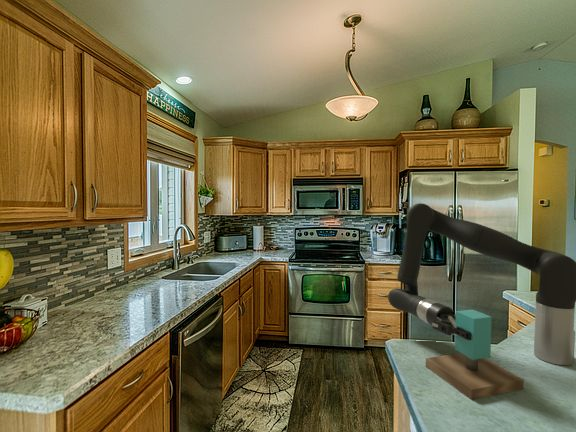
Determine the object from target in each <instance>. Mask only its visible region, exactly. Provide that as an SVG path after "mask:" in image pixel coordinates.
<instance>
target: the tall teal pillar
mask: <svg viewBox="0 0 576 432" xmlns="http://www.w3.org/2000/svg"><path fill="white" fill-rule="evenodd" d="M455 314H456V323H455V325H457V326H458V328H459V327H461V328H463V329H465V330H467V331H469V332H471V334H472V336H471V340H466V339H464V338H462V337H460V336H456V335H454V350H455V351H456V352H457V353H462V354H463V355H465V356H467V357H469V358H470V359H472V360H475V359H481V358H485V359H487V358H490V357H491V354H492V353H491V348H492V323H493V322H492V316H490V315H488V314H485V313H482V312H480V311H477V310H475V309H467V310H457V311H455Z"/></svg>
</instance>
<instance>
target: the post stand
mask: <svg viewBox="0 0 576 432" xmlns="http://www.w3.org/2000/svg"><path fill="white" fill-rule="evenodd" d="M425 368H427V369H428V370H429V371H431V372H432V373H434V375H435V374H436V375H437V376H438V377H440V378H441V379H442V380H443V381H444V382H446V383H447V384H449V385H450V386H452V387H453V388H455V389H456V390H457V391H458V392H460V393H461V394H463V395H464V396H465V395H466V396H465V397H467V398H468V397H469V398H468V399H469V400H477V399H480V398H487V397H491V396H496V395H500V394H505V393H506V394H507V393H510V392H514V391H519V390H524V381H525V379H524V378H521V377H520V376H518V375H516V374H514V373H512V372H511V371H509V370H507V369H506V368H504V367H502V366H500V365H498V364H496V363H494V362H492V361H491V360H489V359H487V358H481V359H475V360H472V359H470V358H469V357H467V356H465V355H463V354H462V353H460V352H457V353H451V354H445V355H444V354H443V355H438V356H432V357H426V358H425ZM476 398H477V399H476Z"/></svg>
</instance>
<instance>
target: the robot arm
mask: <svg viewBox="0 0 576 432" xmlns="http://www.w3.org/2000/svg"><path fill="white" fill-rule="evenodd" d="M428 231H429V232H432V233H435V234H438V235H441V236H442V237H445V238H447V239H449V240H451V241H452V242H454V243H456V244H458V245H459V246H462V247H464V248H466V249H469V250H471V251H472V252H476V253H478V254H481V255H484V256H486V257H490V258H493V259H497V260H501V261H504V262H505V261H506V262H510V263H512V264H516V265H519V266H520V267H522V268H525V269H526V270H529V271H531V272H533V273H534V274H537V275H538V276H539V283H538V285H539V287H538V290H537V292H536V293H535V310H534V311H535V312H534V313H535V314H534V315H535V316H534V317H535V318H534V337H533V339H534V342H533V355H534V356H535V357H536V358H538V359H540V360H542V361H544V362H546V363H550V364H554V365H558V366H571V365H572V364H573V363H574V362H573V361H575V348H576V347H575V342H576V331H575V311H576V308H575V307H576V261H575V260H574V259H573V258H572V257H569V256H567V255H565V254H563V253H560V252H556V251H552V250H548V249H544V248H540V247H536V246H533V245H530V244H527V243H524V242H523V241H520V240H518V239H516V238H514V237H512V236H510V235H507V234H506V233H503V232H502V231H499V230H497V229H494V228H492V227H488V226H486V225H482V224H480V223H477V222H473V221H469V220H466V219H460V218H456V217H452V216H449V215H446V214H444V213H442V212H441V211H438V210H436V209H434V208H432V207H431V206H429V205H428V204H425V203H421V202H420V203H415V204H413V205H411V207H409V208H408V210H407V213H406V235H405V241H404V245H403V246H404V247H403V250H402V255H401V259H400V262H399V268H398V272H397V275H396V276H397V278H396V279H397V281H398V282H399V283H401V284H404V286H405V288H393V289H391V290H389V292H388V294H387V295H388V296H387V300H388V302H389V304H390V305H391V306H392V307H393V308H394V309H396V310H399V311H402V312H404V313H408V314H411V315H413V316H415V317H417V318H419V319H420V320H422V321H423V322H424V323H426V324H428V325H430V326H432V329H433V330H436V331H438V332H440V333H442V334H445V335H446V336H452V335H453V336H455V335H456V336H460V337H462V338H464V339H466V340H471V336H472V334H471V332H469V331H467V330H465V329H463V328H461V327H459V328H458V326H457V325H455V323H456V312H455V311H454V310H453V309H452V307H449V306H447V305H445V304H443V303H440V302H437V301H435V300H432V299H428V298H426V297H423V296H422V295H419V289H418V288H419V287H418V279H419V274H420V270H421V266H422V265H421V264H422V258H423V257H422V256H423V250H424V245H425V244H424V243H425V241H426V240H425V239H426V237H427V234H428Z"/></svg>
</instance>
